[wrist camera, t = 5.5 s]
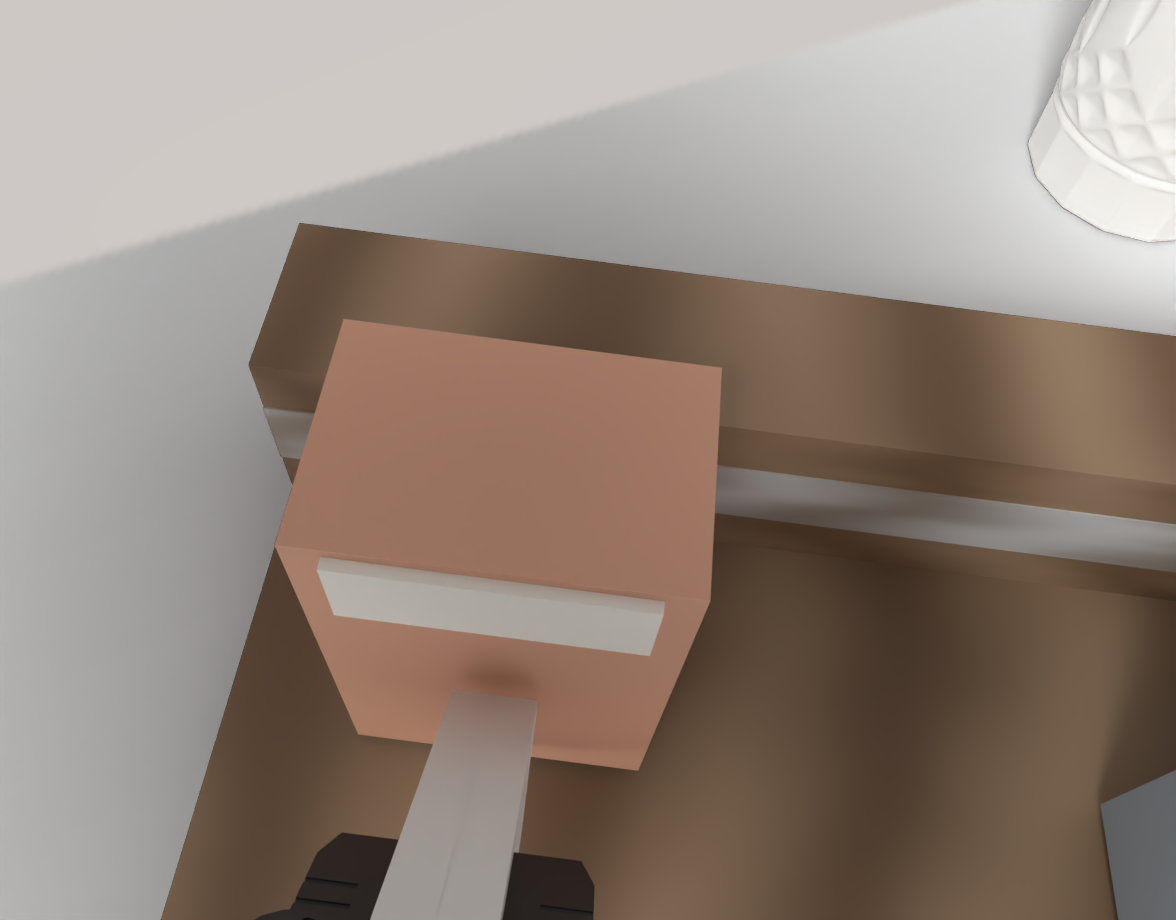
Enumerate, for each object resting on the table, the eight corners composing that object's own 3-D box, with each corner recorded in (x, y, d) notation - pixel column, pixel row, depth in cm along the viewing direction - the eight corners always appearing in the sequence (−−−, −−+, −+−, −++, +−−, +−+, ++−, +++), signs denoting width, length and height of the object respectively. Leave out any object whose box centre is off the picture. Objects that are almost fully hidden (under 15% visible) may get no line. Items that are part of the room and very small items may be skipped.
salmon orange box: (355, 744, 21) (270, 558, 14) (397, 564, 24) (343, 318, 16) (637, 780, 21) (709, 615, 14) (652, 597, 24) (721, 367, 16)
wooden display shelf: (132, 1068, 19) (-5, 1066, 14) (338, 379, 28) (299, 222, 23) (1593, 1257, 19) (1989, 1324, 14) (1348, 510, 28) (1538, 383, 23)
